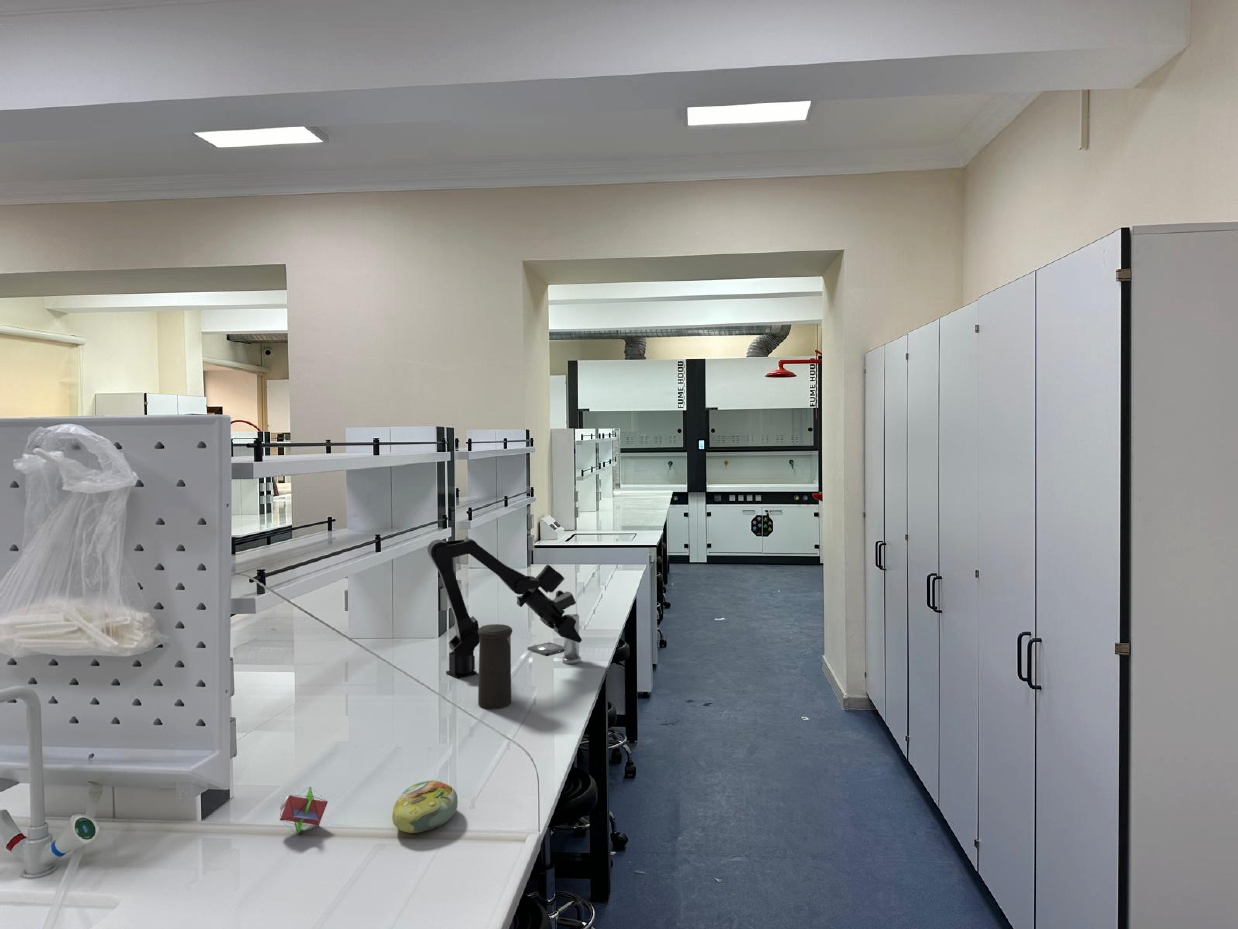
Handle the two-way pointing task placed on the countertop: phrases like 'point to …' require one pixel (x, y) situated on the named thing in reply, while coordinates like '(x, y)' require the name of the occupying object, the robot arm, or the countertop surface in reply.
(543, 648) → the base plate
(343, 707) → the countertop surface
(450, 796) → the cell model
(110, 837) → the countertop surface
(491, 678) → the container
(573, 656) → the sleeve
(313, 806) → the geometric puzzle
